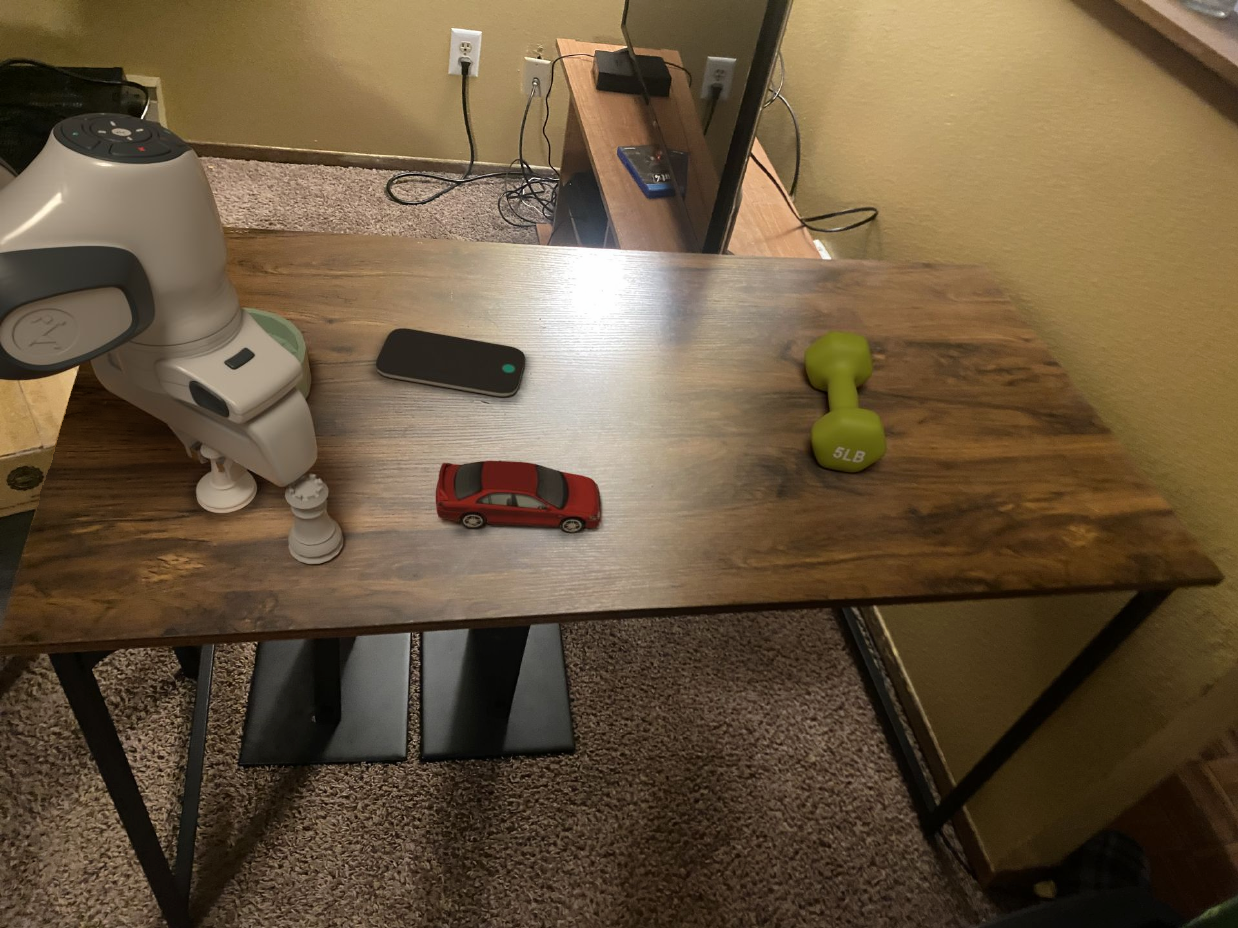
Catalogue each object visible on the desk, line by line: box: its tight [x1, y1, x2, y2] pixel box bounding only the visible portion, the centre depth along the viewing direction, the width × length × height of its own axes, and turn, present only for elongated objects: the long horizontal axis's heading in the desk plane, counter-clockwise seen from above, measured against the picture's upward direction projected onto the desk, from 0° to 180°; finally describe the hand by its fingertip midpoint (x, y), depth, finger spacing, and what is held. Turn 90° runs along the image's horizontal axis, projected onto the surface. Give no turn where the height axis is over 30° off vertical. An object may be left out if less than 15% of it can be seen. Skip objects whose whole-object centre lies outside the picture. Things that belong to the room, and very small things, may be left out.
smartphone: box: [375, 327, 526, 398], centre depth 89 cm, size 8×1×15 cm
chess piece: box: [195, 444, 258, 514], centre depth 70 cm, size 5×5×10 cm
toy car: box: [435, 460, 602, 534], centre depth 76 cm, size 6×15×5 cm, turn 91°
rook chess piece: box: [284, 473, 344, 565], centre depth 69 cm, size 4×4×8 cm
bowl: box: [242, 307, 312, 400], centre depth 81 cm, size 13×13×5 cm
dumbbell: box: [803, 330, 888, 473], centre depth 90 cm, size 16×8×7 cm, turn 174°
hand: (219, 464), depth 71 cm, fingers closed on chess piece
